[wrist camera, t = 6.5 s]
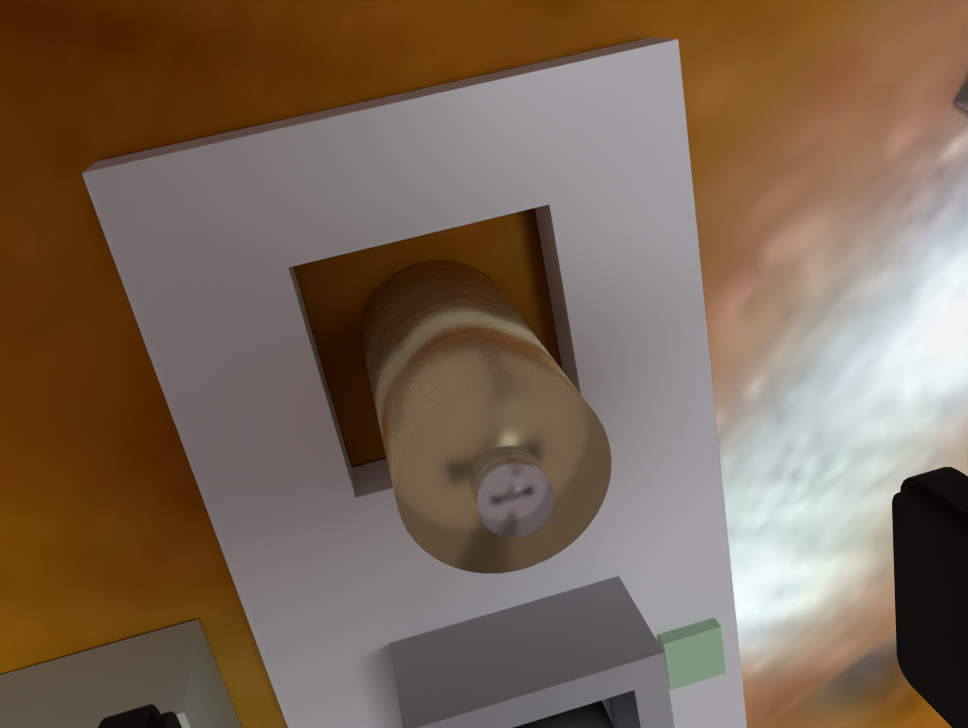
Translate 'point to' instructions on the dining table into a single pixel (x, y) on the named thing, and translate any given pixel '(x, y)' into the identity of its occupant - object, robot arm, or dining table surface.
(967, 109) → the external hard drive
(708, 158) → the dining table surface
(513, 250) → the dining table surface
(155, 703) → the pale green trough
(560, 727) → the test button
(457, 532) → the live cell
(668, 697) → the checker
